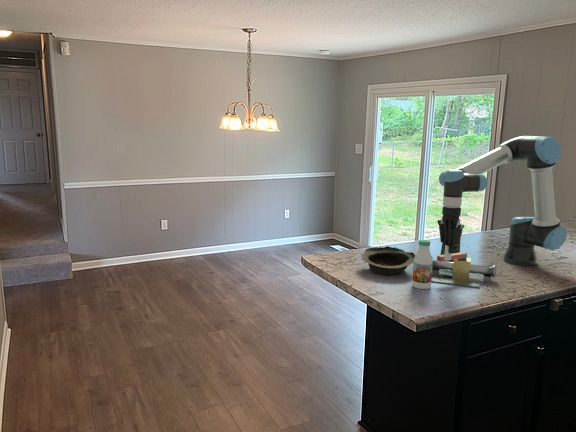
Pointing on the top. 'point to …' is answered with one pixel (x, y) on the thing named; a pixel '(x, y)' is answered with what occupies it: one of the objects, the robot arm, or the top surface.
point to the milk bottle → (422, 266)
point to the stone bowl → (387, 259)
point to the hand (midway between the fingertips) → (447, 259)
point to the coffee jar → (455, 248)
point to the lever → (453, 256)
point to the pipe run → (461, 273)
